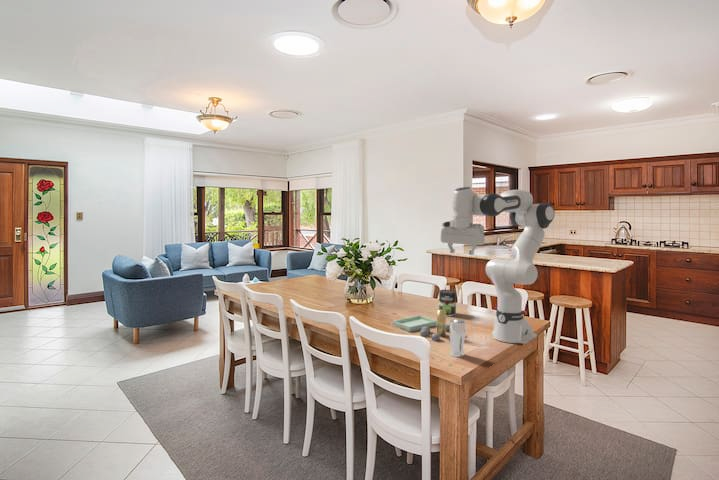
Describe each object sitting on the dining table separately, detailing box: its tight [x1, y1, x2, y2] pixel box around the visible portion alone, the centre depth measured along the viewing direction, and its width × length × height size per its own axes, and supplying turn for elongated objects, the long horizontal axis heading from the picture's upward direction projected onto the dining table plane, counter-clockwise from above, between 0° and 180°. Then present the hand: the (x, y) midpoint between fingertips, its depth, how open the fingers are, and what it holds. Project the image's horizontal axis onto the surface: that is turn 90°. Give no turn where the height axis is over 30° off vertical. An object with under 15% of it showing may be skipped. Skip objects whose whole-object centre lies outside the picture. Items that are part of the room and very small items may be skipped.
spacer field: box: [419, 324, 451, 343], centre depth 193 cm, size 19×21×2 cm
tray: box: [392, 314, 437, 333], centre depth 210 cm, size 20×14×3 cm
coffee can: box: [438, 289, 457, 317], centre depth 232 cm, size 10×10×14 cm
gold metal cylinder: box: [436, 308, 447, 338], centre depth 193 cm, size 4×4×13 cm
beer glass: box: [448, 318, 467, 358], centre depth 167 cm, size 7×7×15 cm
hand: (461, 253), depth 173 cm, fingers open, 8 cm apart
